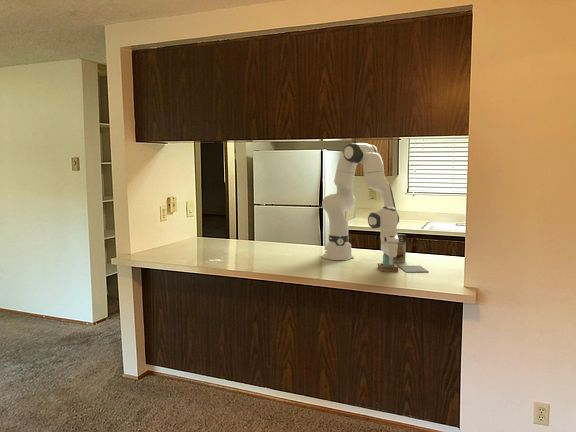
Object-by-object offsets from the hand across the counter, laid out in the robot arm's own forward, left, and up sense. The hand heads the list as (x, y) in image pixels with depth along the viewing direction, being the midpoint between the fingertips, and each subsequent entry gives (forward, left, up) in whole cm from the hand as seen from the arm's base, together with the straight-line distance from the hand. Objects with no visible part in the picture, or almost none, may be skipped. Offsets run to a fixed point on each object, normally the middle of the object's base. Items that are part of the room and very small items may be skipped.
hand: (388, 262), depth 264 cm
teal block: (0, 0, -4) cm, 4 cm away
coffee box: (-20, +10, -4) cm, 23 cm away
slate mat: (0, +14, -4) cm, 15 cm away
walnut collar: (0, 0, -4) cm, 4 cm away
